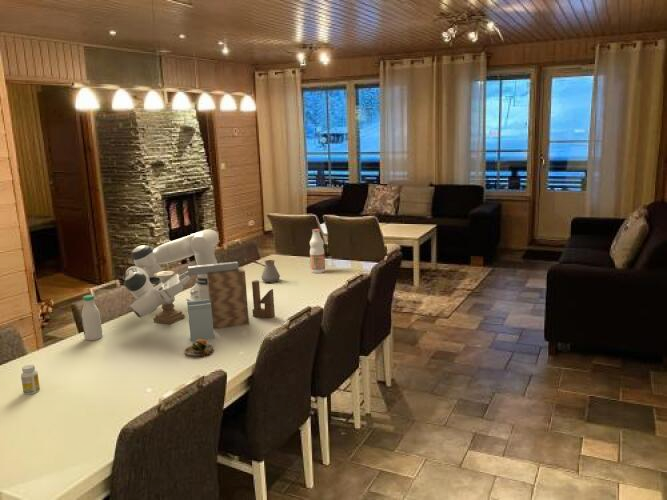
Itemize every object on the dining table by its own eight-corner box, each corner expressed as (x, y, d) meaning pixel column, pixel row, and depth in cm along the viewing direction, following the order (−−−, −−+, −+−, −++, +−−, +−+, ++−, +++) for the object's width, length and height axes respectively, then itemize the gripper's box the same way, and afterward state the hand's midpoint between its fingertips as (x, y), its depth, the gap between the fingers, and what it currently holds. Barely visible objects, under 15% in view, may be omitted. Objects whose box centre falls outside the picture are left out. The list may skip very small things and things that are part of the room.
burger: (182, 351, 240) (181, 334, 238) (210, 346, 244) (209, 329, 242) (187, 361, 229) (185, 343, 227) (216, 355, 233) (215, 338, 232)
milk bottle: (106, 335, 263) (101, 294, 259) (94, 341, 255) (88, 298, 252) (93, 334, 265) (87, 293, 261) (80, 340, 258) (75, 298, 254)
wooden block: (271, 318, 277) (269, 282, 274) (252, 316, 282) (250, 281, 278) (275, 316, 281) (272, 281, 277) (256, 314, 285) (253, 279, 281)
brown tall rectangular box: (212, 328, 265) (208, 275, 260) (211, 322, 275) (206, 270, 270) (249, 324, 270) (244, 271, 265) (246, 318, 279) (242, 266, 274)
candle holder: (185, 317, 285) (180, 271, 280) (170, 324, 275) (165, 276, 270) (168, 315, 289) (163, 270, 285) (153, 322, 280) (147, 275, 275)
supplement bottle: (27, 396, 202) (23, 371, 200) (21, 392, 205) (17, 367, 203) (42, 390, 206) (38, 366, 204) (36, 387, 209) (32, 362, 207)
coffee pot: (282, 278, 354) (280, 255, 351) (277, 283, 343) (276, 259, 340) (249, 279, 357) (247, 255, 354) (243, 283, 346) (242, 259, 343)
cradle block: (191, 341, 250) (187, 306, 247) (190, 335, 258) (187, 301, 255) (214, 338, 253) (211, 303, 250) (212, 332, 261) (209, 299, 257)
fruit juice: (307, 272, 369) (305, 229, 363) (318, 269, 375) (316, 227, 370) (317, 274, 362) (315, 231, 357) (328, 271, 369) (326, 229, 363)
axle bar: (188, 275, 261) (188, 268, 260) (188, 273, 264) (187, 266, 264) (238, 270, 267) (238, 262, 266) (237, 268, 271) (237, 261, 270)
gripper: (168, 291, 271) (192, 275, 273) (168, 303, 252) (194, 285, 254) (159, 281, 269) (184, 264, 271) (159, 292, 250) (186, 274, 252)
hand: (189, 274), depth 262 cm, fingers open, 8 cm apart
